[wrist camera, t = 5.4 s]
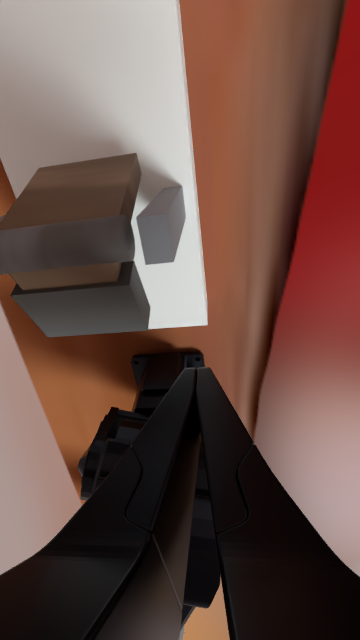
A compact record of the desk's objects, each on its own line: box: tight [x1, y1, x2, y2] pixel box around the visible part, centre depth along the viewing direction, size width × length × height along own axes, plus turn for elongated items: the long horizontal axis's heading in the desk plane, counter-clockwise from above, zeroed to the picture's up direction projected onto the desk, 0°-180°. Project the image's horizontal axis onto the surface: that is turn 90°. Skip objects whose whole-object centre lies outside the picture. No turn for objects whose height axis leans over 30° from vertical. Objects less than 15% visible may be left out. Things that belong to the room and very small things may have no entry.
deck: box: [0, 0, 207, 329], centre depth 14 cm, size 17×10×11 cm, turn 8°
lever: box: [0, 153, 151, 337], centre depth 14 cm, size 5×6×7 cm
